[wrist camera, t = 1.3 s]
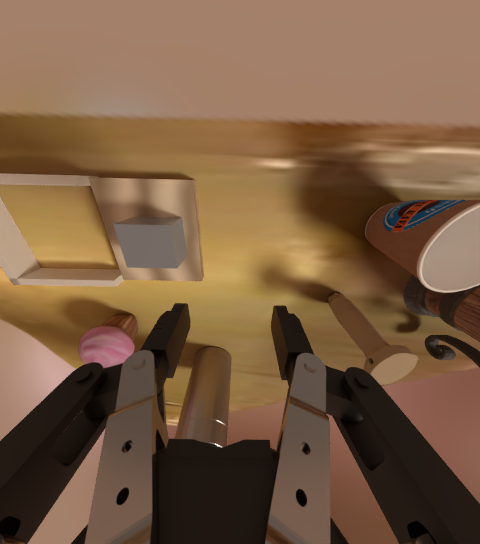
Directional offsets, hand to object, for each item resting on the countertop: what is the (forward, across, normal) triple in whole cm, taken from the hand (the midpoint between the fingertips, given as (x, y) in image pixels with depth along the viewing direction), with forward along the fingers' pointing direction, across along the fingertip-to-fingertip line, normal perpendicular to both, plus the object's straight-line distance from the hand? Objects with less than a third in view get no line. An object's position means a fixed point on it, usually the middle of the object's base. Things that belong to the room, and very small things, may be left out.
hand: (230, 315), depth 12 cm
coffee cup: (+20, -25, -2) cm, 32 cm away
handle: (+20, -20, +13) cm, 31 cm away
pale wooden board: (+20, +13, 0) cm, 24 cm away
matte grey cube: (+18, +12, 0) cm, 21 cm away
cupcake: (+20, +24, +20) cm, 37 cm away
